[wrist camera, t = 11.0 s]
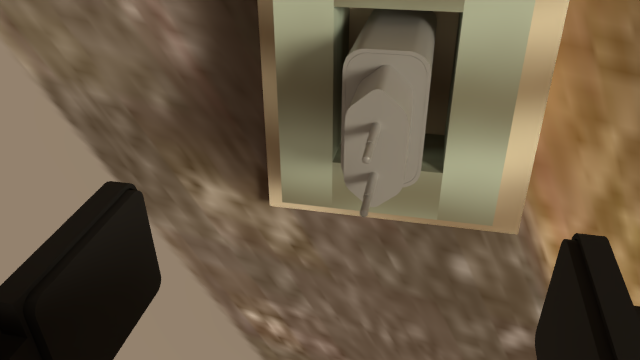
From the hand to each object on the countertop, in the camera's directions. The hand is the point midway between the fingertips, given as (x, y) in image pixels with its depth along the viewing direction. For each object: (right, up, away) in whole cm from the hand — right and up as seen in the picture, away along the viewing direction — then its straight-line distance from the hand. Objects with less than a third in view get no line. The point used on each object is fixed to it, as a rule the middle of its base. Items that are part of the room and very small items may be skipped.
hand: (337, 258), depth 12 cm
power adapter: (+3, +8, +14) cm, 16 cm away
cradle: (+4, +8, +15) cm, 17 cm away
